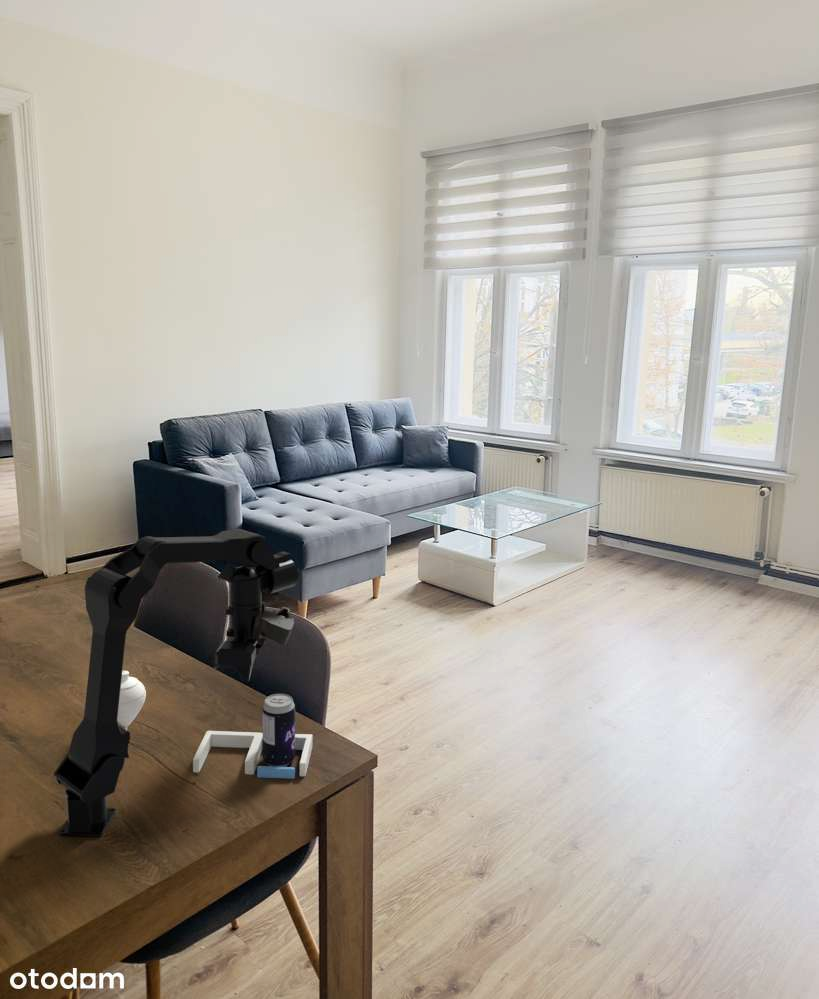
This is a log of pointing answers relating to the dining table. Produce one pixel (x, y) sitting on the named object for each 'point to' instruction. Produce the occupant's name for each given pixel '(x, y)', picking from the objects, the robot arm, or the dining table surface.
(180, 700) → the dining table surface
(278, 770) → the white open frame
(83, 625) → the dining table surface
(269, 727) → the beverage can
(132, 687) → the spinning top
